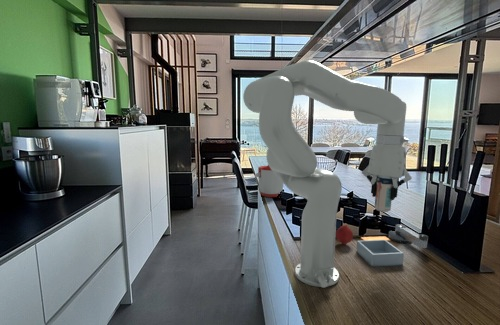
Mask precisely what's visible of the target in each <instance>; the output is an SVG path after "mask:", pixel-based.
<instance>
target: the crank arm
mask: <svg viewBox="0 0 500 325" xmlns="http://www.w3.org/2000/svg"><path fill="white" fill-rule="evenodd" d="M394 230H395V233H396V234H398V235H400V236H402V237H404V238H405V239H407V240H408V241H410V242H409V243H412V244H413V245H414V246H416V247H418V248H419V249H426V248H428V241H429V236H428V235H426V234H422V233H421V234H419V233H417V232H415V231H413V230H412V229H410V228H408V227H407V226H406V225H405V224H395V229H394Z"/></svg>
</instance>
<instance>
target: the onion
mask: <svg viewBox="0 0 500 325" xmlns="http://www.w3.org/2000/svg"><path fill="white" fill-rule="evenodd" d="M335 238H336V239H337V241H338V242H339V243H340V244H342V245H344V246H345V245H347V244H349V243H351V242H352V240H353V238H354V233H353V231H352V229H351V228H350V227H349V226H348V223H344V224H343V225H341V226H340V227H339V228H337V229H336V234H335Z"/></svg>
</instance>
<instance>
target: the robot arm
mask: <svg viewBox="0 0 500 325" xmlns="http://www.w3.org/2000/svg"><path fill="white" fill-rule="evenodd" d="M297 96H306V97H308V98H310V99H311V100H315V101H317V102H320V103H321V104H323V105H326V106H328V107H330V108H331V109H333V110H334V109H335V110H338V111H346V112H353V115H354V116H353V117H354V119H356V121H357V122H359V123H361V124H364V125H377V130H376V140H375V144H373V145H372V150H371V152H370V157H369V162H368V163H369V164H368V165H367V166H366V168H365V169H364V170H362V171H361V174H362V175H363V176H364V177H365V178H366V179H367V180H368V181H369V182H370V184H371V190H370V194H371V195H372V196H371V197H373V198H375V196H376V186H377V177H378V176H386V177H390V178H392V180H393V187H392V188H391V197H390V199H391V200H392V201H393V200H395V198H397V197H398V190H399V187H401V186H402V185H403V184H405V183H407V182H409V181H412V180H413V179H412V176H411V175H410V173H409V172H408V170H407V169H406V164H407V162H406V161H407V152H406V150H407V149H406V146H404V144H406V143H407V144H408V143H409V138H406V137H405V136H404V134H405V126H406V125H405V123H406V115H407V103H406V102H405V101H402V99H401V98H400V97H398V96H397V95H396V94H394V93H393V92H390V91H389V90H388V89H385V88H382V87H379V86H376V85H371V84H367V83H363V82H360V81H356V80H351V79H349V78H347V77H345V76H343V75H341V74H339V73H337V72H336V71H334V70H332V69H330V68H329V67H327V66H325V65H323V64H322V63H320V62H318V61H315V60H312V59H309V60H307V59H306V60H302V61H299V62H295V63H293V64H290V65H287V66H285V67H283V68H280V69H279V70H276V71H274V72H272V73H270V74H267V75H264V76H262V77H261V78H258V79H256V80H253V81H251V82H250V83H249V84H248V85H247V86H246V87H245V88H244V92H243V96H242V97H243V102H244V105H245V107H246V109H248V110H249V111H251V112H253V113H256V114H259V116H258V117H259V118H258V129H259V135H260V138H261V139H262V141H263V143H264V144H265V146H266V147H267V148H268V149H267V151H266V162H267V166H268V165H269V167H270V168H271V170H272V171H273V172H274V173H275V174H276V175H277V177H278V178H279V179H280V180H281V181H282V182H283V183H284V184H283V185H284V186H285V187H286V188H287V189H288V190H290V192H291V193H293V194H294V195H295V196H296V195H297V196H298V197H299V196H300V197H301V198H304V199H305V200H306V201H307V202H306V205H305V207H304V208H303V211H302V214H301V236H300V237H301V240H300V263H298V264H297V265H296V266H295V267H294V268H295V269H294V275H295V277H296V278H297V280H299V281H300V282H302V283H304V284H305V285H308V286H312V287H318V288H320V287H321V288H323V289H324V288H327V287H330V286H333V285H335V284H337V283H338V282H339V279H340V274H339V273H340V272H339V271H338V269H336V267H335V253H336V252H335V251H336V250H335V249H336V232H337V213H338V207H339V202H340V200H341V199H340V198H341V195H342V189H343V185H342V181H341V179H340V178H339V177H338V175H336V173H334V172H332V171H330V170H327V169H325V168H320V167H318V158H317V155H316V154H315V151H314V150H313V149H312V148H311V146H310V145H309V144H308V143H307V141H306V140H305V139H304V138H303V136H302V135H301V134H300V132H299V130H298V129H297V128H296V126H295V125H294V123H293V120H292V112H293V106H294V102H295V97H297ZM402 177H404V178H402ZM401 178H402V179H401ZM399 179H400V180H399Z"/></svg>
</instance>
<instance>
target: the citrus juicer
mask: <svg viewBox="0 0 500 325" xmlns="http://www.w3.org/2000/svg"><path fill="white" fill-rule="evenodd" d="M254 177H255V178H258V187H259V193H260V194H261V196H263V197H265V198H278V197H277V196H278V194H279V193H280V192H281V191H282V192H283V188H284V185H285V184H284V183H283V182H282V181H281V180H280V179H279V178H278V177H277V175H276V174H275V173H274V172H273V171H272V170H271V168H270V167H269V165H268V164H267V165H261V166H259V167H258V170H257V173H256V174H255V176H254Z"/></svg>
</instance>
